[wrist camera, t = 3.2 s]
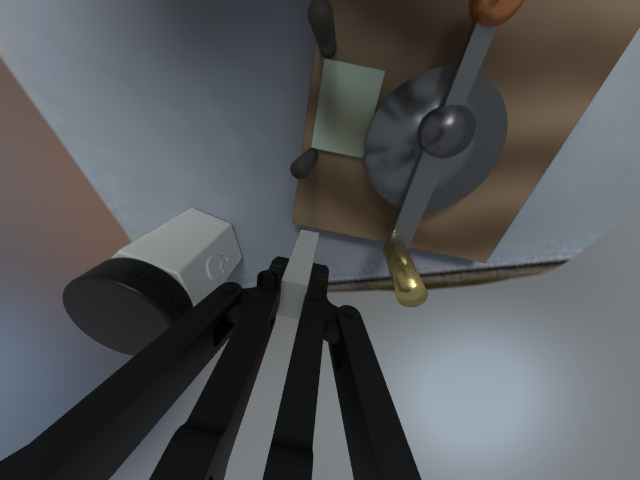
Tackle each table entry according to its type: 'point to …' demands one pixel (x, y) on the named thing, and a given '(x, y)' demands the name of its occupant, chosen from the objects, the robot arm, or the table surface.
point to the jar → (153, 281)
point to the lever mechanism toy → (434, 52)
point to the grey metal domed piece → (437, 141)
